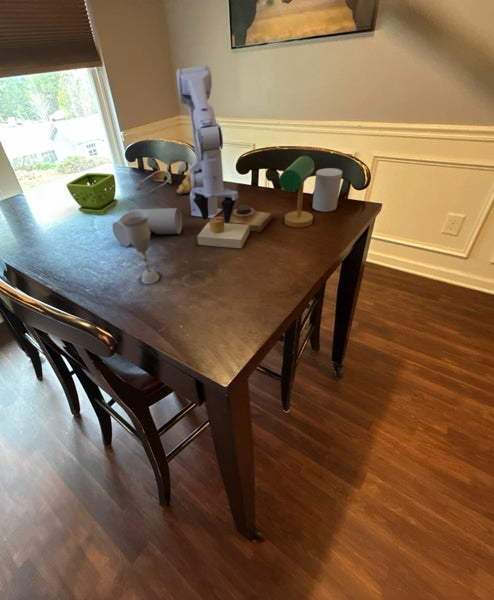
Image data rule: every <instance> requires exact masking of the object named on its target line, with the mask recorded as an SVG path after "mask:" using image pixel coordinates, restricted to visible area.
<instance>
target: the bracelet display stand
mask: <svg viewBox="0 0 494 600" xmlns="http://www.w3.org/2000/svg"><path fill="white" fill-rule="evenodd" d="M314 170H315V162H314V159H312V158H311V157H310V156H308V155H302V156H300V157H298V158H297V159H296V160H295V161H293V162H292V163H291V165H290V166H288V167H287V168H286V169H285V170H284V171H283V172H282V173H281V174H280V177H279V180H278V181H279V186H280V188H281V189H282V190H283V191H285V192H287V193H294V192H296V191H297V190H298V193H297V207H296V208H297V209H296V210H294V211H289V212H287V213H286V214H285V215H284V224H285V225H286V226H289V227H291V228H306V227H309V226H311V225H312V224H313V220H314V215H313V214H312V213H310V212H308V211H304V210H302V209H303V200H304V199H303V198H304V187H305V182H306V181H307V179H308V178H309V177H310V176H311V175H312V174H313V172H314Z"/></svg>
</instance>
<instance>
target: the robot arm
mask: <svg viewBox="0 0 494 600" xmlns="http://www.w3.org/2000/svg"><path fill="white" fill-rule="evenodd" d="M211 71H212V70H211V68H210V66H209V65H208V64H205V65H201V66H193V67H187V68H186V67H185V68H177V70H176V73H175V74H176V75H175V76H176V83H177V89H178V95H179V100H180V103H182V104H184V105H186V106H187V109H188V112H189V118H190V124H191V125H190V126H191V133H192V139H193V140H192V141H193V147H194V152H195V153H194V154H195V161H194V162H193V163H192V164H191V165H190V167H189V174H190V180H191V186H192V189H191V190H192V191H191V192H190V193H189V203H190V209H191V213H190V216H193V217H200V218H202V219H203V220H204V221H205V220H207V219H211V218H213V217H217V216H218V215H219V214H220V213H221V212H222V211H223V219H224V223H228V222H229V221H230V218H231V217H232V213H233V210H234V209H233V208H234V205H235V203H236V201H237V200H238V199H239V191H238V190H232V189H229V188H225V187H224V174H223V159H222V150H223V147H224V138H223V132H222V127H221V125H220V124H219V122H217V120H216V116H215V112H214V111H215V110H214V108H213V106H212V105H210V104H208V100H209V99H210V96H211V92H212V91H211V90H212V86H213V84H212V83H213V82H212V80H213V79H212V72H211ZM218 199H223V200H222V201H221V202H220V204H221V206H222V208H221V207H220V208H219V207H218Z"/></svg>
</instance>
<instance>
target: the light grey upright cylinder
mask: <svg viewBox="0 0 494 600" xmlns="http://www.w3.org/2000/svg"><path fill="white" fill-rule="evenodd" d="M342 177H343V170H341V169H340V168H333V167H325V168H321V169H318V170H316V171H315V179H314V187H313V188H314V190H313V198H312V207H311V208H312V209H313V210H315V211H319V212H323V213H325V212H333V211H335V210H337V207H338V201H339V195H340V189H341V183H342Z"/></svg>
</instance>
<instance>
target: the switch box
mask: <svg viewBox="0 0 494 600" xmlns="http://www.w3.org/2000/svg"><path fill="white" fill-rule="evenodd" d="M271 220H272V212H264V211H263V212H262V211H256V210H255V208H253V207H250V213H249V214H243V215H242V214H238V213H237V208H235V209H233V210H232V215H231V217H230V221H229V222H228V223H227V224H243V225H249V231H252V232H262V230H264V228H265V227H266V226H267V225H268V224H269V223H270V222H271Z"/></svg>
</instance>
